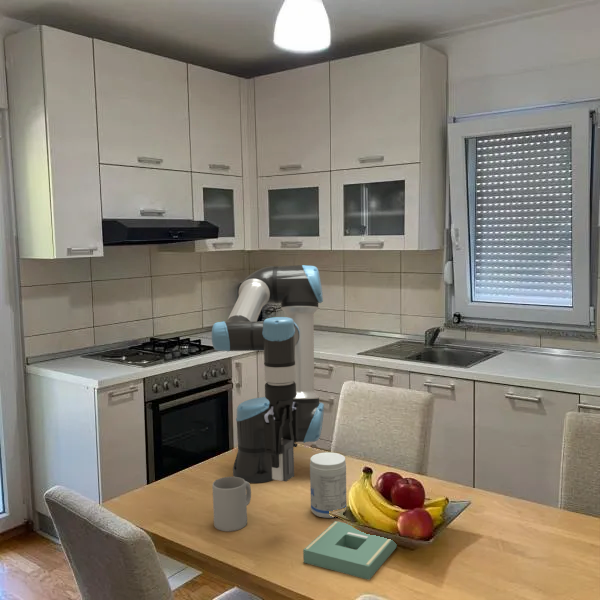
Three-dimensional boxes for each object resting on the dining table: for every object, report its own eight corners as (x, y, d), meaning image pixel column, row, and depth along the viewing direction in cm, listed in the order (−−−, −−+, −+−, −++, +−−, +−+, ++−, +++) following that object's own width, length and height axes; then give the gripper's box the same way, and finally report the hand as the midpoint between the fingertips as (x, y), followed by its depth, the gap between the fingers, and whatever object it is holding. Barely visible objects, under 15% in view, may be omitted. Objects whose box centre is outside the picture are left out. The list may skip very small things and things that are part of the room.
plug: (280, 473, 157) (279, 437, 156) (295, 476, 155) (294, 439, 154) (271, 478, 154) (270, 442, 153) (286, 481, 151) (285, 444, 151)
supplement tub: (308, 505, 172) (306, 453, 170) (342, 502, 174) (340, 450, 172) (314, 521, 162) (313, 465, 161) (350, 517, 164) (349, 462, 163)
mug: (231, 534, 156) (229, 491, 155) (206, 526, 161) (205, 484, 160) (262, 516, 166) (261, 476, 165) (238, 509, 171) (237, 469, 170)
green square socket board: (335, 532, 156) (335, 520, 156) (396, 546, 148) (396, 534, 148) (303, 562, 142) (303, 549, 142) (369, 579, 134) (368, 566, 134)
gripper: (285, 373, 161) (288, 462, 163) (246, 388, 147) (250, 485, 149) (311, 376, 157) (313, 467, 160) (274, 391, 143) (277, 491, 145)
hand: (283, 476), depth 154 cm, fingers closed on plug, 4 cm apart
